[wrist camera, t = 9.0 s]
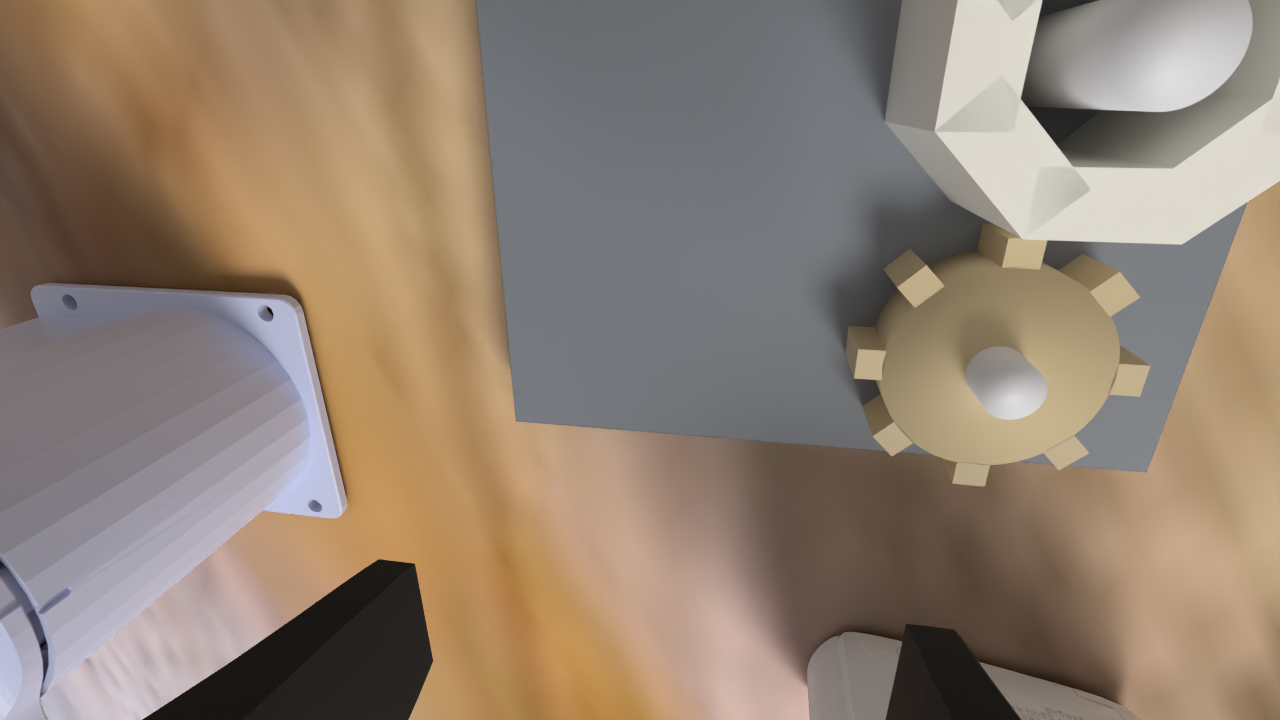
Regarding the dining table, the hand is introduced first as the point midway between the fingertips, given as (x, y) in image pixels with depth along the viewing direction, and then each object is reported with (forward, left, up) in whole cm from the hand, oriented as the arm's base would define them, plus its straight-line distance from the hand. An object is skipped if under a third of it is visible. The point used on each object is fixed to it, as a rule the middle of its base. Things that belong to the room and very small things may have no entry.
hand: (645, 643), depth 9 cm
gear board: (+3, +8, -9) cm, 13 cm away
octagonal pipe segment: (+6, +8, -8) cm, 13 cm away
